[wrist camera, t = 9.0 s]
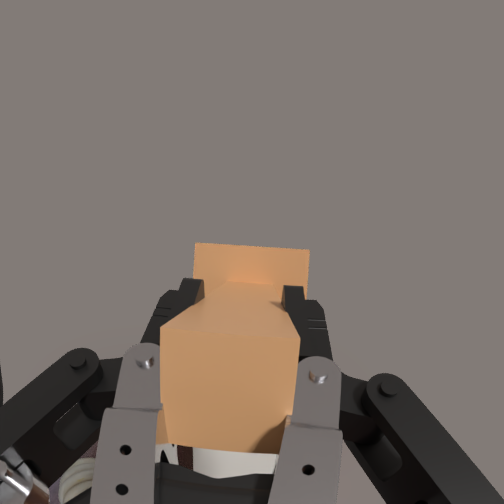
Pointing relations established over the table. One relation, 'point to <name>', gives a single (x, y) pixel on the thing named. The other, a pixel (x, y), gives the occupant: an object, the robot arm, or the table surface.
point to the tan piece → (233, 351)
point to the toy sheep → (76, 479)
